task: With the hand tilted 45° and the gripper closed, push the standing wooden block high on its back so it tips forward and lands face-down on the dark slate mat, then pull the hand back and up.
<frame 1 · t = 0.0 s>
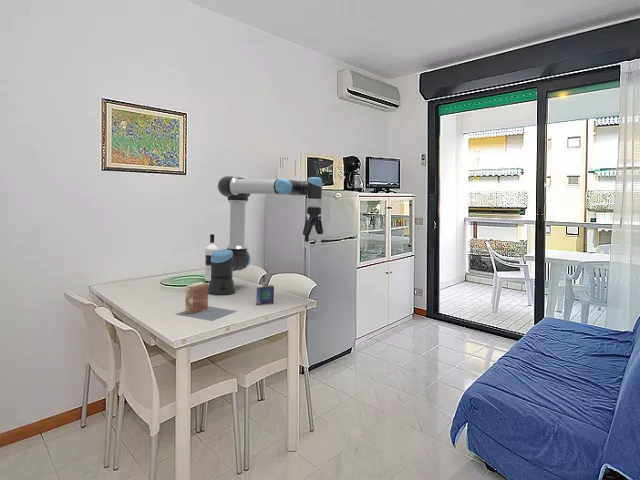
hand: (312, 247, 210), 28 cm above the table, tool pointing down, fingers open, 13 cm apart
flask: (264, 304, 198), on the table
vodka: (211, 281, 250), on the table
mat: (207, 313, 177), on the table
wooden block: (196, 310, 179), resting on mat
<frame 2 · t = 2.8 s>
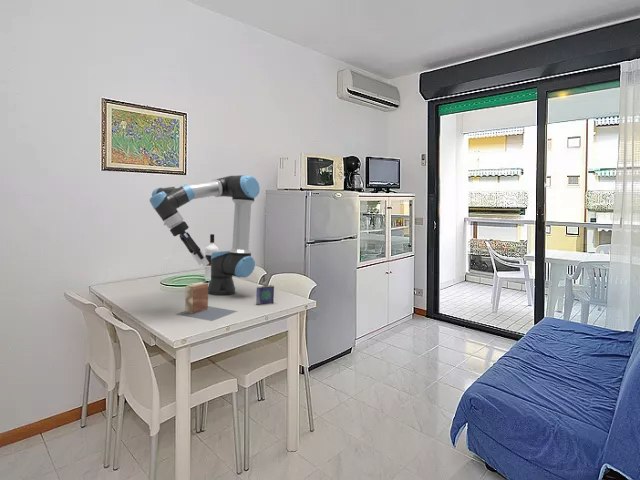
hand: (204, 264, 179), 22 cm above the table, tool tilted 35°, fingers open, 13 cm apart
nothing on the table moved.
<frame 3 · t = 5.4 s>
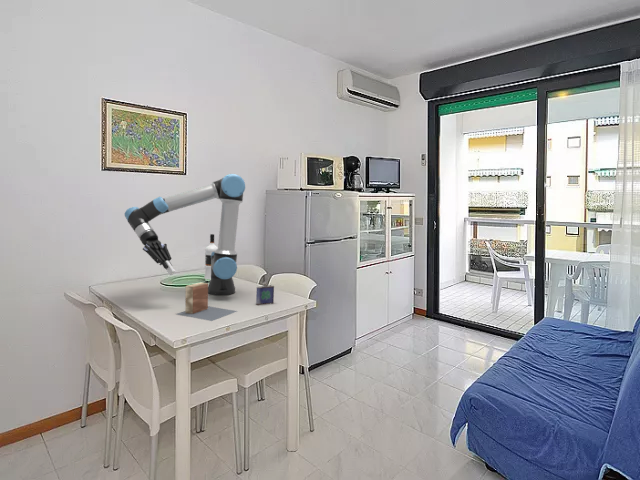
hand: (172, 273, 183), 16 cm above the table, tool tilted 45°, fingers closed
nothing on the table moved.
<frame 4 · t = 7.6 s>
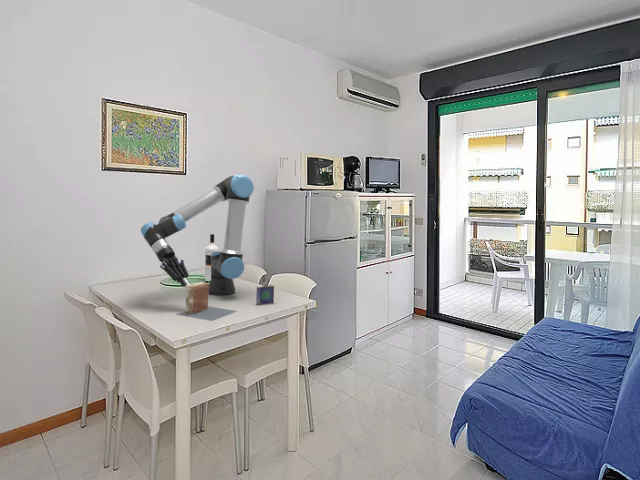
hand: (190, 290, 179), 9 cm above the table, tool tilted 45°, fingers closed
wooden block: (196, 310, 179), point 1 cm above the table, touching gripper, mat
everything else where it was.
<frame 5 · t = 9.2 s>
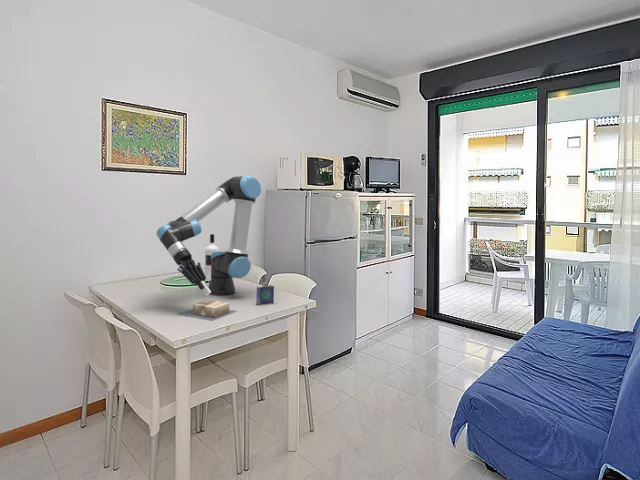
hand: (208, 294, 175), 9 cm above the table, tool tilted 45°, fingers closed
wooden block: (200, 306, 178), point 3 cm above the table, tilted 90°, touching mat
everything else where it was.
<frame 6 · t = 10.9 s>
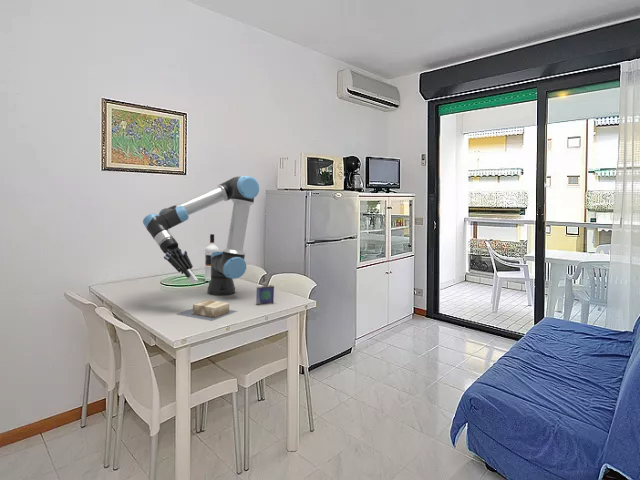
hand: (195, 282, 177), 14 cm above the table, tool tilted 45°, fingers closed
nothing on the table moved.
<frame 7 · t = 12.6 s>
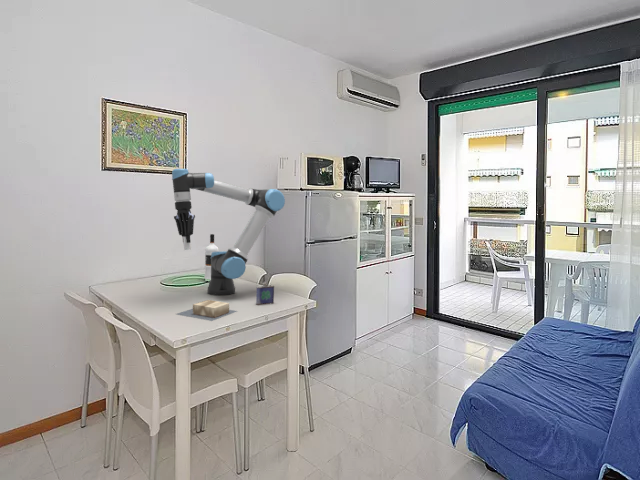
hand: (187, 249, 193), 26 cm above the table, tool pointing down, fingers closed
nothing on the table moved.
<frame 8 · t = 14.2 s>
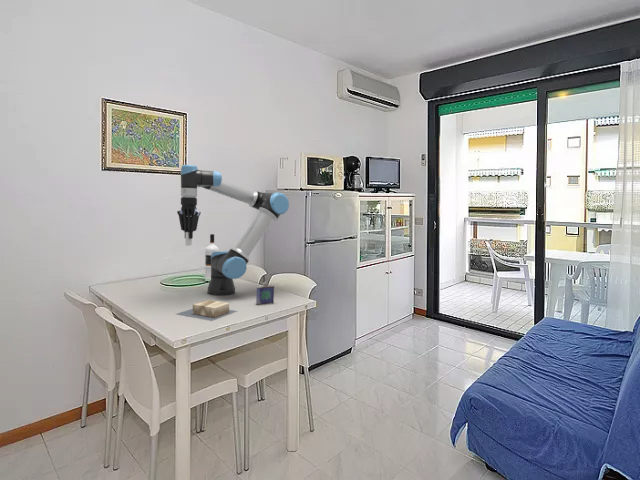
hand: (188, 245, 194), 28 cm above the table, tool pointing down, fingers closed
nothing on the table moved.
at the end: wooden block tilted 90°; wooden block touching mat; wooden block inside the target area (1.3 cm from its centre), point 2.8 cm above the table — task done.
